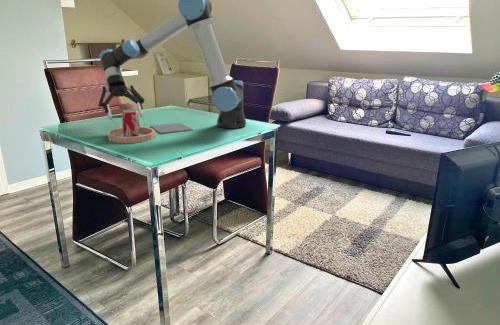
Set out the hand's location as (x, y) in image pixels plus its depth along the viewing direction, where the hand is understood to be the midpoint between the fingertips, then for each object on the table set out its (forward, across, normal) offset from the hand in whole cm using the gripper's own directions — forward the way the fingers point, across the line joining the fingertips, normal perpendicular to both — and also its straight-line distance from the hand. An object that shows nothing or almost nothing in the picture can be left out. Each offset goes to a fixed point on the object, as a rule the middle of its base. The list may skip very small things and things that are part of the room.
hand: (126, 117), depth 170 cm
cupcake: (-25, -12, -38) cm, 47 cm away
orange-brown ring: (+8, -1, -4) cm, 9 cm away
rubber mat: (+3, -22, -9) cm, 24 cm away
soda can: (+8, -1, -4) cm, 9 cm away
